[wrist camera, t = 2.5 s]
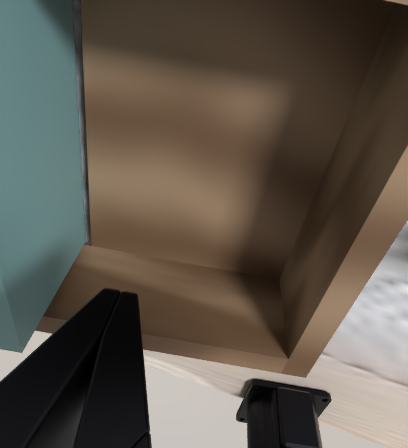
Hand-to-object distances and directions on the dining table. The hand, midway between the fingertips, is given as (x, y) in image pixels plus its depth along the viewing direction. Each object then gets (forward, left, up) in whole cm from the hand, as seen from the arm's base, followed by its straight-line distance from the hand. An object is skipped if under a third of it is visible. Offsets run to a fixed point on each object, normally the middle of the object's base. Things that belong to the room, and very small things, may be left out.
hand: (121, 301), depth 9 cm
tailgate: (0, +4, -9) cm, 10 cm away
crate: (0, -1, -10) cm, 10 cm away
